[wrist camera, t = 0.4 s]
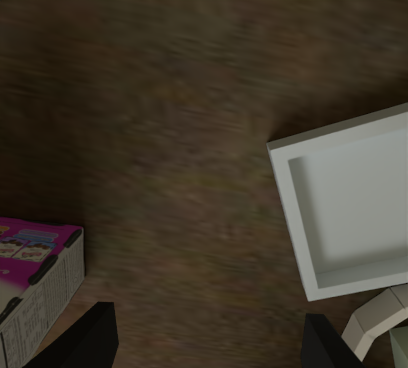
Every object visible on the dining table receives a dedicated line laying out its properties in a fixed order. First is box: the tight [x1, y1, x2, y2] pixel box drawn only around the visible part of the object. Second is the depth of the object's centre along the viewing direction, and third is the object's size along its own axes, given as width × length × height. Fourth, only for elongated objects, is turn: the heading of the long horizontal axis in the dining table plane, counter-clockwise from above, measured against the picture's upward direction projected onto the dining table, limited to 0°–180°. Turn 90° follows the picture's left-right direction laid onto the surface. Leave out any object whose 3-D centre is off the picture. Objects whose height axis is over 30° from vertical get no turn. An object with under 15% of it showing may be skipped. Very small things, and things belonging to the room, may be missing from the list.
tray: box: [266, 103, 408, 301], centre depth 19 cm, size 11×11×2 cm
